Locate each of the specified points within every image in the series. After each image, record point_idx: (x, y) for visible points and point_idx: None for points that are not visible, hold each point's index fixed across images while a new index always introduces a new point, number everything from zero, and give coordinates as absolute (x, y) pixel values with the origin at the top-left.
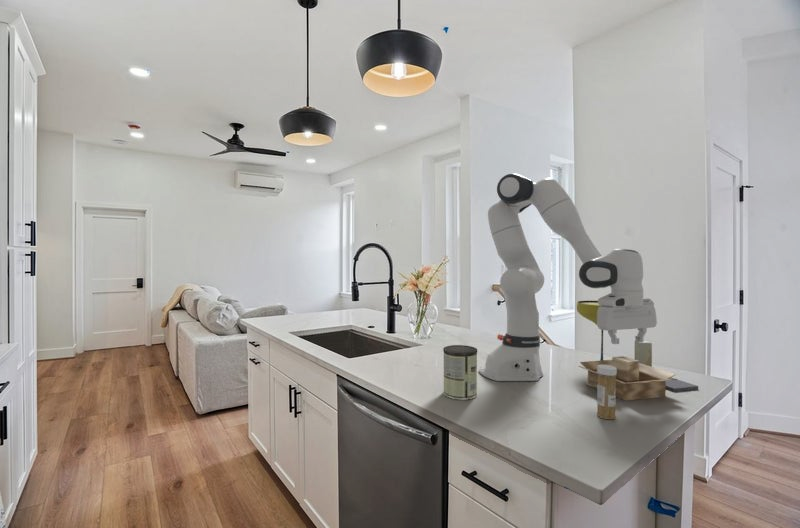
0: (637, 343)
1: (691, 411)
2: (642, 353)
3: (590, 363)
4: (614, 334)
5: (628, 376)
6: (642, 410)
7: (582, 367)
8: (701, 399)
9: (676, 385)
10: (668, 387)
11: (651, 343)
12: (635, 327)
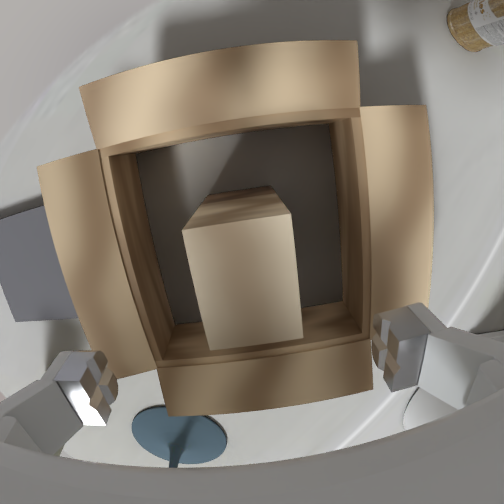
0: None
1: (158, 4)
2: None
3: (330, 384)
4: (495, 346)
5: (269, 198)
6: (334, 25)
7: None
8: (34, 120)
9: (32, 236)
10: None
11: None
12: (123, 477)
